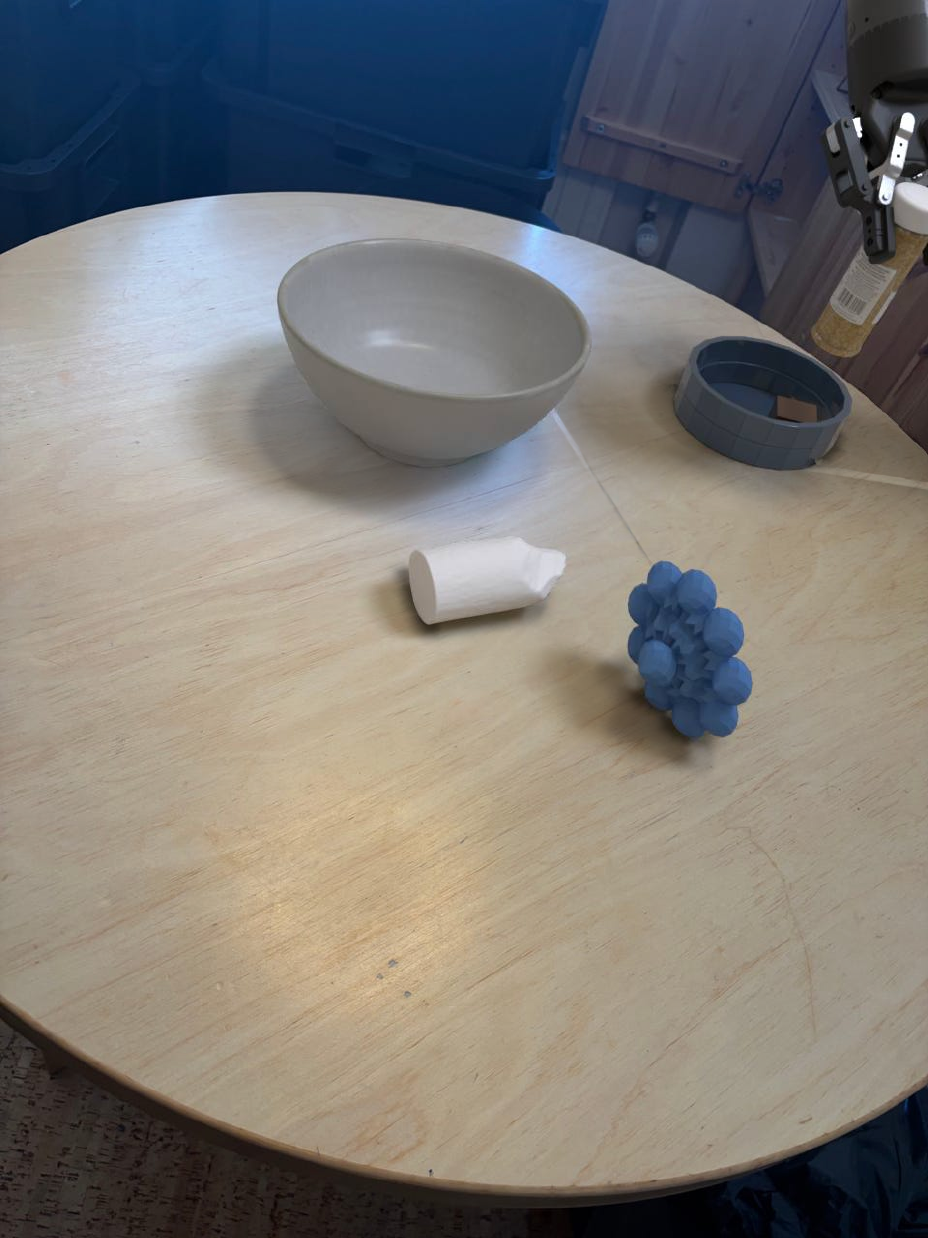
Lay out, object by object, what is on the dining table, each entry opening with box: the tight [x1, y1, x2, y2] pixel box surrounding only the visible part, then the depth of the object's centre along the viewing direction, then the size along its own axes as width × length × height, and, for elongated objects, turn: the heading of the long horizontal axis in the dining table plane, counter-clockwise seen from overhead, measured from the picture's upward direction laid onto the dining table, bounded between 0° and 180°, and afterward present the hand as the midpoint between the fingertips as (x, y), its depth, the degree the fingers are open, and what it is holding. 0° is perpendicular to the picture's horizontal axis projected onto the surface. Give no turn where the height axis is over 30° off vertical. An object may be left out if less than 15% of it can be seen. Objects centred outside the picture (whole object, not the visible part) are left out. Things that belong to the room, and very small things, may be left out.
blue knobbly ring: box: [627, 560, 754, 740], centre depth 64 cm, size 12×7×12 cm, turn 33°
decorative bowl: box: [276, 237, 592, 468], centre depth 85 cm, size 27×27×12 cm
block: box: [768, 395, 818, 423], centre depth 95 cm, size 4×4×4 cm
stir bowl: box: [672, 335, 853, 471], centre depth 97 cm, size 17×17×6 cm
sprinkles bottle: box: [810, 181, 928, 358], centre depth 77 cm, size 5×5×13 cm
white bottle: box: [408, 535, 567, 625], centre depth 72 cm, size 6×12×6 cm, turn 111°
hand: (910, 260), depth 74 cm, fingers closed on sprinkles bottle, 4 cm apart
